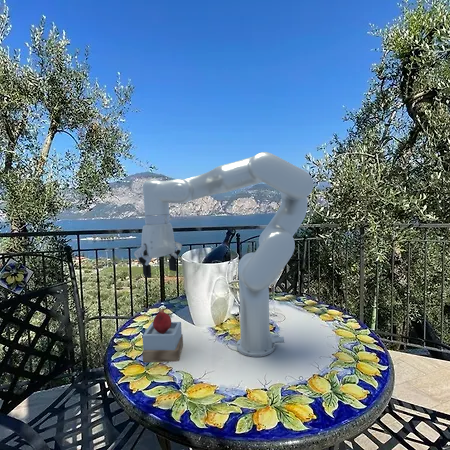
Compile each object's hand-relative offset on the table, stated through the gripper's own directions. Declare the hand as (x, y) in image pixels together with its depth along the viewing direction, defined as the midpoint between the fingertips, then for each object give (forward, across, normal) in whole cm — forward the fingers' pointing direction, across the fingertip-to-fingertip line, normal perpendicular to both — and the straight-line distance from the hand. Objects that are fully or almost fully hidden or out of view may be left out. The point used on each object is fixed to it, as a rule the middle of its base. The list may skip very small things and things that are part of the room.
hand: (160, 273), depth 99 cm
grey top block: (+23, 0, 0) cm, 23 cm away
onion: (+20, 0, 0) cm, 20 cm away
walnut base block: (+27, 0, 0) cm, 27 cm away
